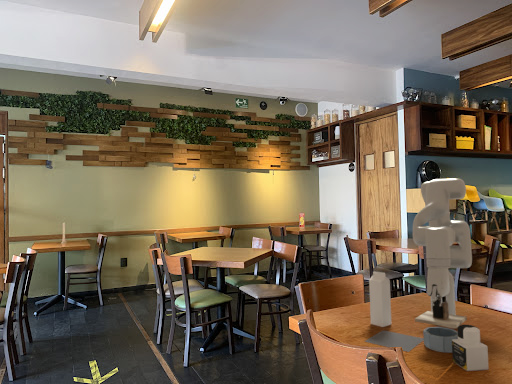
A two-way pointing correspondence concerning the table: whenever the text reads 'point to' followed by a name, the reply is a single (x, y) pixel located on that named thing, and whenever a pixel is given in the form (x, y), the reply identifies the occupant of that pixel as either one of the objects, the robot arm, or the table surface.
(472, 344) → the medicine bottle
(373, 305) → the milk
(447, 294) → the robot arm
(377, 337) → the mat
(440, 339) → the bowl
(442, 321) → the lid
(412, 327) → the table surface
